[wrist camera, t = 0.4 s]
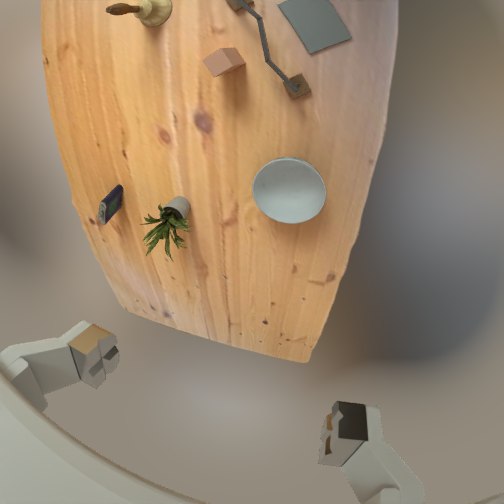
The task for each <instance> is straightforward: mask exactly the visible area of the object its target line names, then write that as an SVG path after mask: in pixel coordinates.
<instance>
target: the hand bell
mask: <svg viewBox="0 0 504 504" xmlns="http://www.w3.org/2000/svg"><path fill="white" fill-rule="evenodd" d="M171 11H172V2H171V0H143V1H140V2H139V3H137V4H136V6H130V5H128V4H125V3H118V4H114V5H112V6H109V7H107V8H106V12H107V13H110V14H112V15H124V14H127V13H134V15H135V17H137V18H139V19H140V21H141V22H142V23H143V24H144V25H146V26H158V25H160V24H162V23H163V22H165V21H166V20H167V19H168V17H169V16H170V14H171Z"/></svg>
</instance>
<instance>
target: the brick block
mask: <svg viewBox="0 0 504 504" xmlns="http://www.w3.org/2000/svg"><path fill="white" fill-rule="evenodd" d="M202 61H203V62H204V64H205V65H206V66H207V68H208V69H209V71H210V72H211V74H212V75H213V77H217V76H220V75H223V74H226V73H229V72H231V71H233V70H234V69H236V68H238V67H240V66H241V65H243V64H245V61H244V60H243V58H242V57H241V55H240V54H239V52H238V51H237V49H236V48H220V49H219V50H217V51H215V52H214V53H212V54H211V55H209V56H208V57H206V58H205V59H203V60H202Z"/></svg>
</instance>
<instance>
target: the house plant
mask: <svg viewBox="0 0 504 504" xmlns="http://www.w3.org/2000/svg"><path fill="white" fill-rule="evenodd" d="M158 209H159V210H160V219H154V218H152V217H151V216H150V215H149V214H148V216H149V218H150V219H148V218H145V217H144V218H145V220H146V221H147V222H152V223H157V222H160V221H162V223H161V224H159V225H158V226H156V227H155V228H154V229H153V230H151V231H150V232H149V233H148V234H147V235H146V236H145V238H144V239H143V240H145V239H146V238H147V240H146V241H145V243H146V242H147V241H149V240H150V239H151V237H152V236H153V235H155V234H156V233H157V232H158V233H157V234H156V236H155V237H153V238H152V239H154V238H155V239H154V240H152V241H151V242H150V243H149V244H147V245H146V246H149V245H151V246H150V247H149V249H148V252H147V254H146V256H147V255H148V254H149V253H150V252H151V250H152V249H153V248H154V247H155V245H156V244H157V243H158V241H159V239H164V238H165V239H166V242H165V251H166V254H167V252H168V254H167V255H169V256H168V257H170V258H171V260H172V261H173V259H172V257H171V254H170V249H169V244H170V242H169V231H170V228H171V230H173V234H174V236H175V240H174V238H173V236H172V234H171V232H170V234H171V237H172V239H173V241H174V243H175V244H176V245H177V247H178V246H180V247H183V248H186V247H184V246H182V245H183V244H182V245H181V243H179V242H178V241H180V242H183V241H184V240H183V239H182V238H180V237H179V236H178V235H177V233H176V229H178V228H180V229H183V230H184V231H187V232H189V231H190V230H189V229H187V228H189V227H190V226H188V225H184V224H185V223H186V222H187V221H188V220H189V219H186V217H187V215H188V212H189V210H190V203H189V201H188V200H187V199H186V198H184V197H181V196H178V197H176V198H174V199H173V200H172V201H170V202H169V203H168V204H167V205H165V206H164V207H163V208H162V207H161V205H159V206H158ZM152 223H146V224H152ZM140 225H145V224H140ZM177 240H178V241H177ZM166 247H167V248H166ZM178 249H179V247H178ZM173 262H174V261H173Z"/></svg>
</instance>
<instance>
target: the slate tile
mask: <svg viewBox="0 0 504 504" xmlns="http://www.w3.org/2000/svg"><path fill="white" fill-rule="evenodd" d="M278 6H279V7H280V9H281V10H282V12H283V13H284V14H285V16H286V17H287V19H288V20H289V22H290V23H291V25H292V26H293V28H294V29H295V31H296V32H297V34H298V35H299V37H300V38H301V40H302V42H303V43H304V45H305V46H306V48H307V50H308V51H309V53H310V54H311V53H313V52H316V51H318V50H321V49H323V48H326V47H328V46H331V45H334V44H337V43H339V42H342V41H345V40H348V39H351V38H352V37H351V35H350V33H349V31H348V30H347V28H346V26H345V25H344V23H343V21H342V20H341V18H340V17H339V15H338V13H337V12H336V10H335V9H334V7H333V6H332V4H331V3H330V1H329V0H287V1H285V2H283V3H281V4H278Z"/></svg>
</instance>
